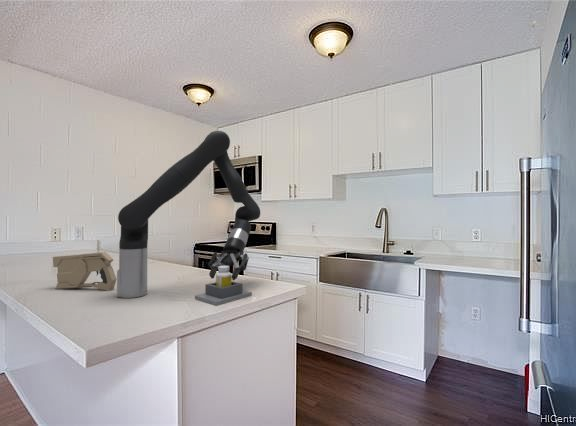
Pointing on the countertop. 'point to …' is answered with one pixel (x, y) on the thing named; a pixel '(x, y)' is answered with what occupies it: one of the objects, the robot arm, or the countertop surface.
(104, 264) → the gun
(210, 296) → the gray socket holder
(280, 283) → the countertop surface
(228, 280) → the supplement bottle
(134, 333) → the countertop surface
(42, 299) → the countertop surface
